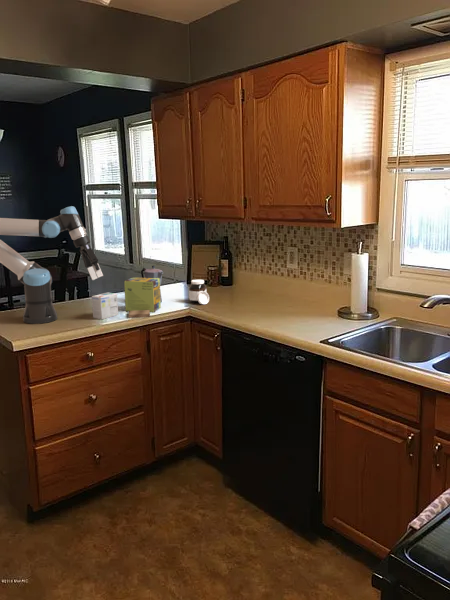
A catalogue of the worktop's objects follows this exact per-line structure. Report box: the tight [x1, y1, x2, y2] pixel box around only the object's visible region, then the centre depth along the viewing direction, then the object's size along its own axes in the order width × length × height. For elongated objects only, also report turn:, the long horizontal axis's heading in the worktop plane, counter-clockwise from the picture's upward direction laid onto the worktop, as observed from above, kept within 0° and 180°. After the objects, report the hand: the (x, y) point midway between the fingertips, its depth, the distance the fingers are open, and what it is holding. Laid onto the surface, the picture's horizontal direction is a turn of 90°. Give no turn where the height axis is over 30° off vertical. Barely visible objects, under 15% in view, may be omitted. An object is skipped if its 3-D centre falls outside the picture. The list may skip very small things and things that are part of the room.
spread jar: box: [188, 279, 210, 305], centre depth 279 cm, size 12×11×12 cm
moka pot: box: [140, 265, 164, 303], centre depth 280 cm, size 10×15×20 cm, turn 60°
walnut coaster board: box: [128, 310, 151, 319], centre depth 254 cm, size 10×8×2 cm
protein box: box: [123, 277, 162, 313], centre depth 265 cm, size 10×15×16 cm
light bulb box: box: [91, 291, 119, 320], centre depth 252 cm, size 11×7×11 cm, turn 144°
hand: (97, 278), depth 259 cm, fingers open, 13 cm apart
